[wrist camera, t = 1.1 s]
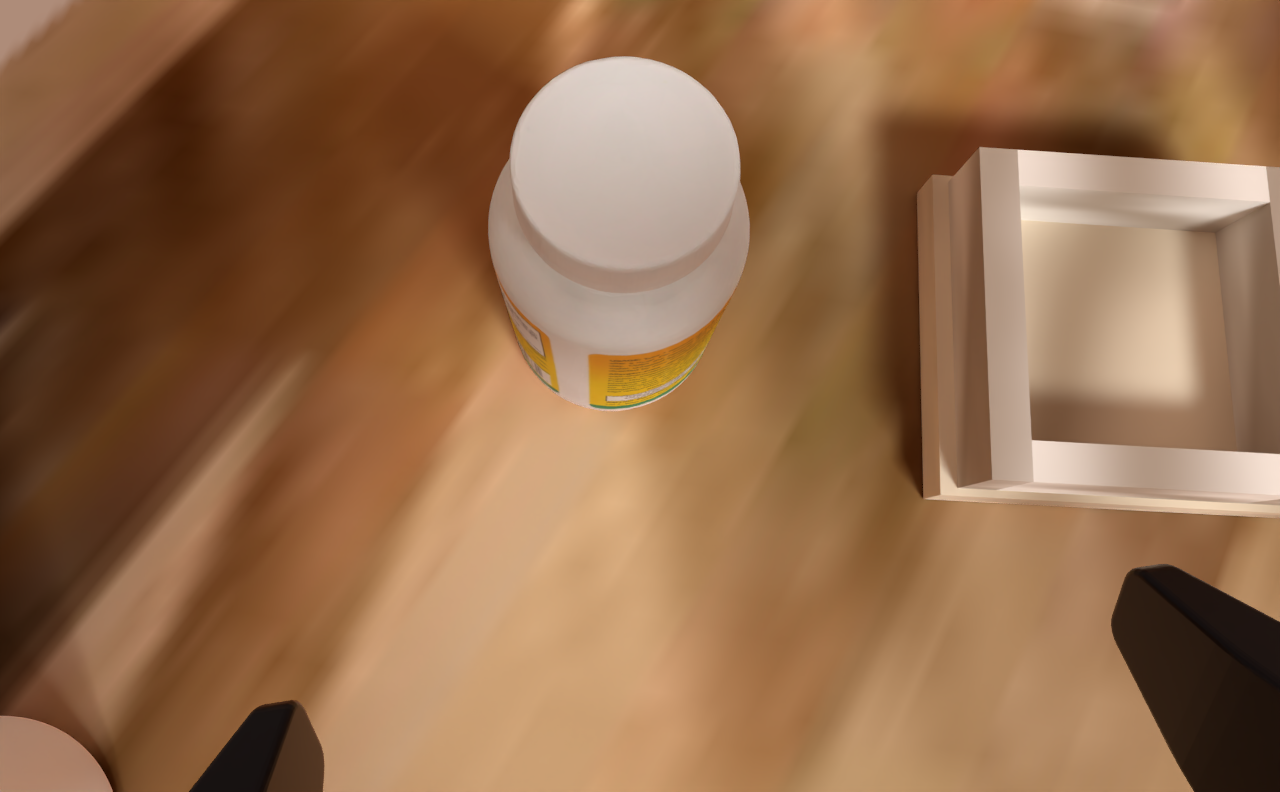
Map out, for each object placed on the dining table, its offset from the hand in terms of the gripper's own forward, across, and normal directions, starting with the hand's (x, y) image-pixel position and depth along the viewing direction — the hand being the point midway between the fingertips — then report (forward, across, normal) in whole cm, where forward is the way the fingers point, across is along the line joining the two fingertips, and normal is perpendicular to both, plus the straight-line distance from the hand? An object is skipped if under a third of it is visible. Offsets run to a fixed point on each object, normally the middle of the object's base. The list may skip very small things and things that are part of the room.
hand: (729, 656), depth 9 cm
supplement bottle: (+15, 0, +4) cm, 16 cm away
